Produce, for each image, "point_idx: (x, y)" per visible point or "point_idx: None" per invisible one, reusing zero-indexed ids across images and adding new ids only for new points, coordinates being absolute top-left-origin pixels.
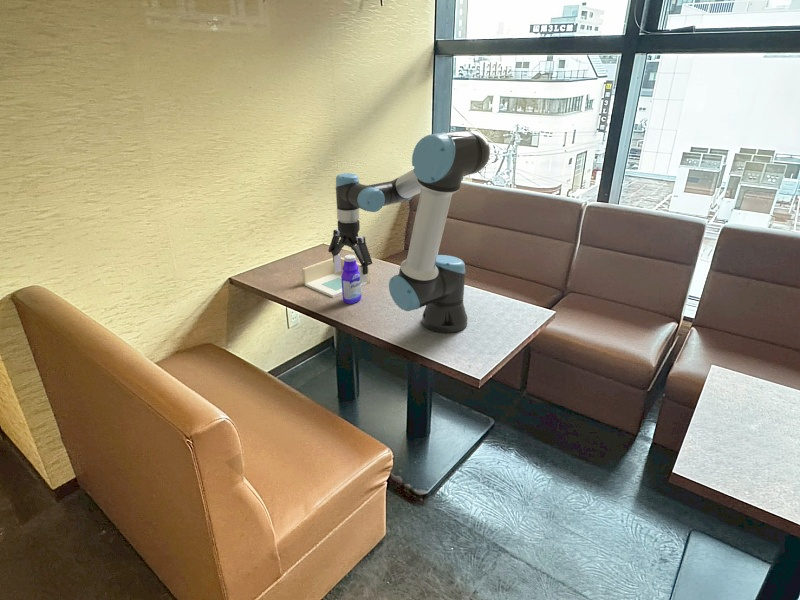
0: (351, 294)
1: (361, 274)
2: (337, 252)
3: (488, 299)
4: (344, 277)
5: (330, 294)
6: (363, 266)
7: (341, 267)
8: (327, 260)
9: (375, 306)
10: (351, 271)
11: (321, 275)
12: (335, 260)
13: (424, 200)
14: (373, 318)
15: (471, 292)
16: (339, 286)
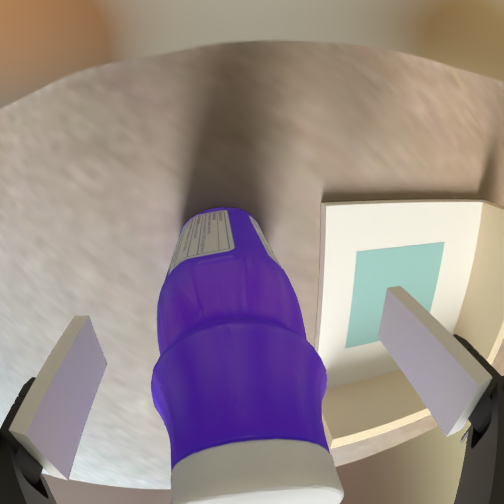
0: (177, 242)
1: (43, 367)
2: (480, 431)
3: None
4: (218, 270)
5: (347, 204)
6: (10, 436)
7: None
8: (497, 345)
9: (100, 292)
10: (160, 359)
11: (474, 285)
12: (450, 358)
13: None
14: (17, 212)
15: (75, 474)
16: (374, 290)
